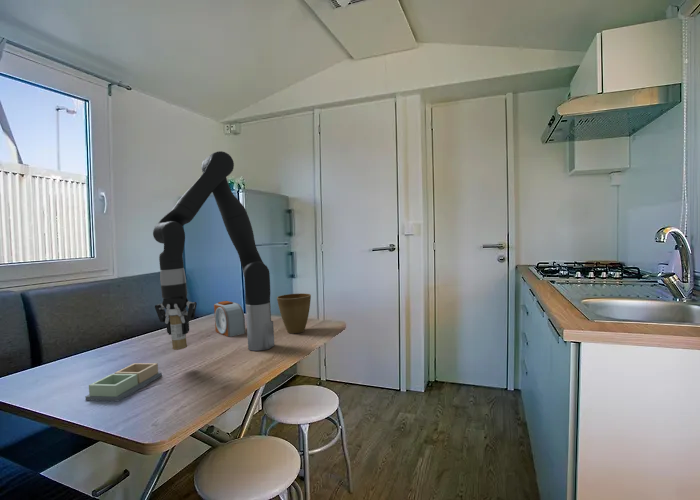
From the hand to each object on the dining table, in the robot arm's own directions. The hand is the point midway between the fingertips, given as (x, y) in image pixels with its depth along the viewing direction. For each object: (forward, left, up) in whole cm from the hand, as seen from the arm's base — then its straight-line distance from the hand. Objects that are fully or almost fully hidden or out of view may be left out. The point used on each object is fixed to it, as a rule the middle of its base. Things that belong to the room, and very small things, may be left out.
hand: (178, 333), depth 123 cm
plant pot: (-25, -46, -12) cm, 54 cm away
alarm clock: (+6, -45, -12) cm, 47 cm away
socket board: (+8, +15, -12) cm, 20 cm away
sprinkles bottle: (0, 0, -5) cm, 5 cm away
